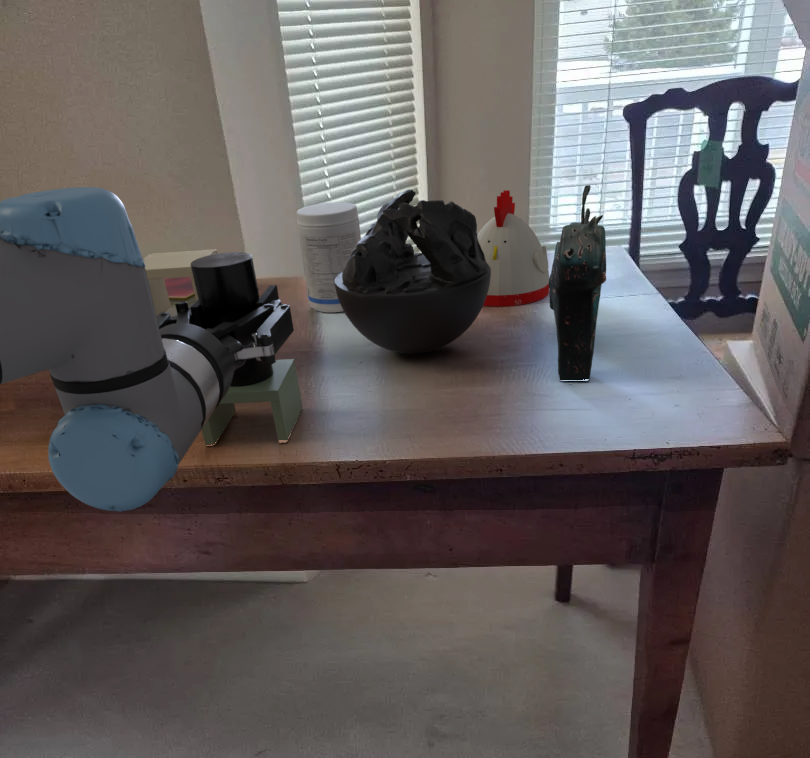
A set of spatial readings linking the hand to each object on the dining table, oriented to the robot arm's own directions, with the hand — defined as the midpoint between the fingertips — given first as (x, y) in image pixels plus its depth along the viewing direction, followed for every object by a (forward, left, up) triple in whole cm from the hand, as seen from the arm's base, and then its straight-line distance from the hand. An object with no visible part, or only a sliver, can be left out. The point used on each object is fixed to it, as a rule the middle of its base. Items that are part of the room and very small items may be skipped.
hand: (244, 300), depth 79 cm
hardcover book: (-23, +47, -13) cm, 54 cm away
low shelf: (0, -5, -13) cm, 14 cm away
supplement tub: (+3, +40, -13) cm, 42 cm away
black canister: (0, -5, -7) cm, 8 cm away
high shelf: (-13, +15, -13) cm, 24 cm away
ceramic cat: (+37, +11, -13) cm, 41 cm away
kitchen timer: (+30, +41, -13) cm, 53 cm away
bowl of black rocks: (+17, +17, -13) cm, 27 cm away
